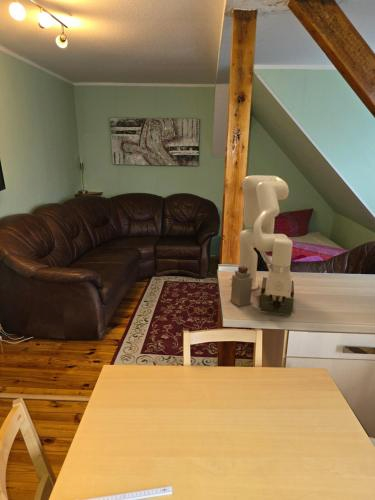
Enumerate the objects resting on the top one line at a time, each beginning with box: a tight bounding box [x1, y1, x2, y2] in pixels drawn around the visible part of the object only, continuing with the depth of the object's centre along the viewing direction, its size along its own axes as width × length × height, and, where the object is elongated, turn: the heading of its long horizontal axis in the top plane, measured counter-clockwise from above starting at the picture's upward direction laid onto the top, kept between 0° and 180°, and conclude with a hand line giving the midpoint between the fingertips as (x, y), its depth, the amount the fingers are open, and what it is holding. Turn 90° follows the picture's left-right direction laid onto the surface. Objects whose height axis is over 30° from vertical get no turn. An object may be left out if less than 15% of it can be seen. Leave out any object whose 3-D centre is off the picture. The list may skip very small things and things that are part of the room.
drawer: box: [259, 290, 294, 316], centre depth 152 cm, size 18×13×8 cm
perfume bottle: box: [230, 266, 253, 308], centre depth 159 cm, size 7×7×18 cm
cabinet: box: [259, 276, 295, 313], centre depth 160 cm, size 15×15×10 cm
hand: (276, 308), depth 142 cm, fingers closed
